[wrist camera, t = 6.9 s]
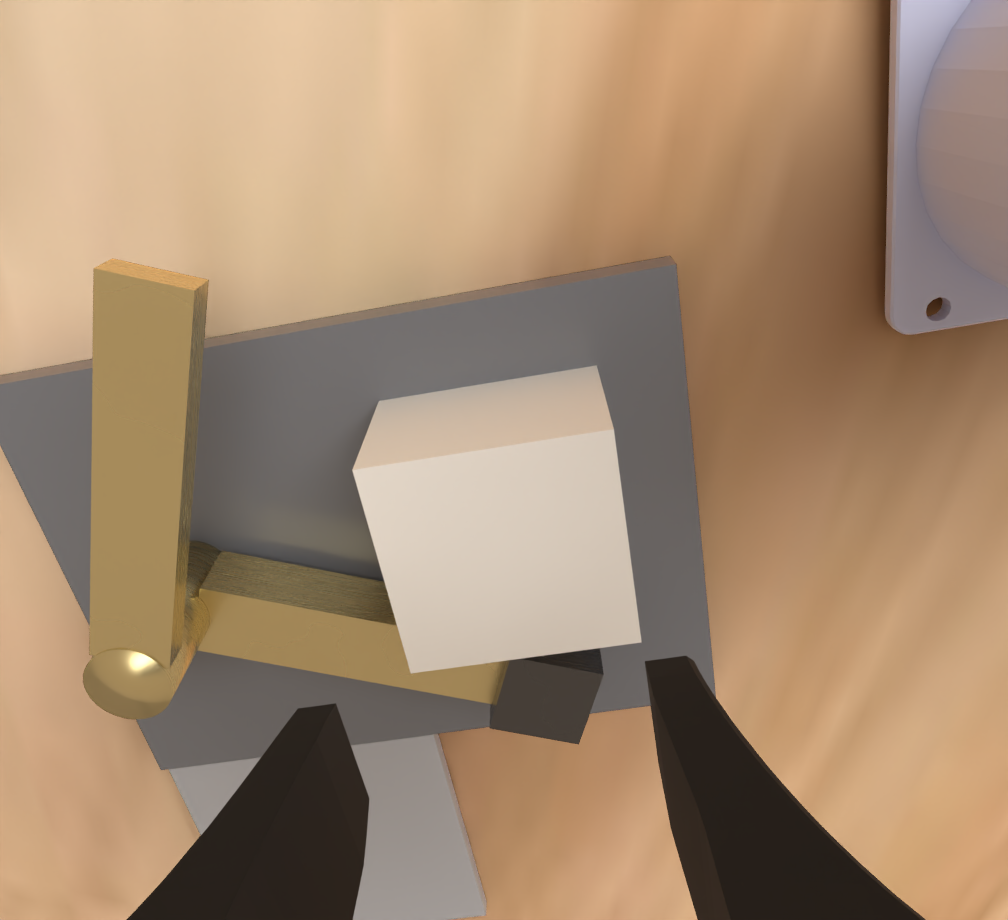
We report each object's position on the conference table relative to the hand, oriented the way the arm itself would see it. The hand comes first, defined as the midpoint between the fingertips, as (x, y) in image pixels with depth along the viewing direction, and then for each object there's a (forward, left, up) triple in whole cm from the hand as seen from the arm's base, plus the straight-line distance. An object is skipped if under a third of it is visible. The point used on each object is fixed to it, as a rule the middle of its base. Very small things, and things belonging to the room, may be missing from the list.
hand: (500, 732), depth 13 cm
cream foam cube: (0, 0, -8) cm, 8 cm away
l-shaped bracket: (+8, +1, -9) cm, 12 cm away
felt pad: (+7, +12, -9) cm, 17 cm away
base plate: (+3, +2, -9) cm, 10 cm away
